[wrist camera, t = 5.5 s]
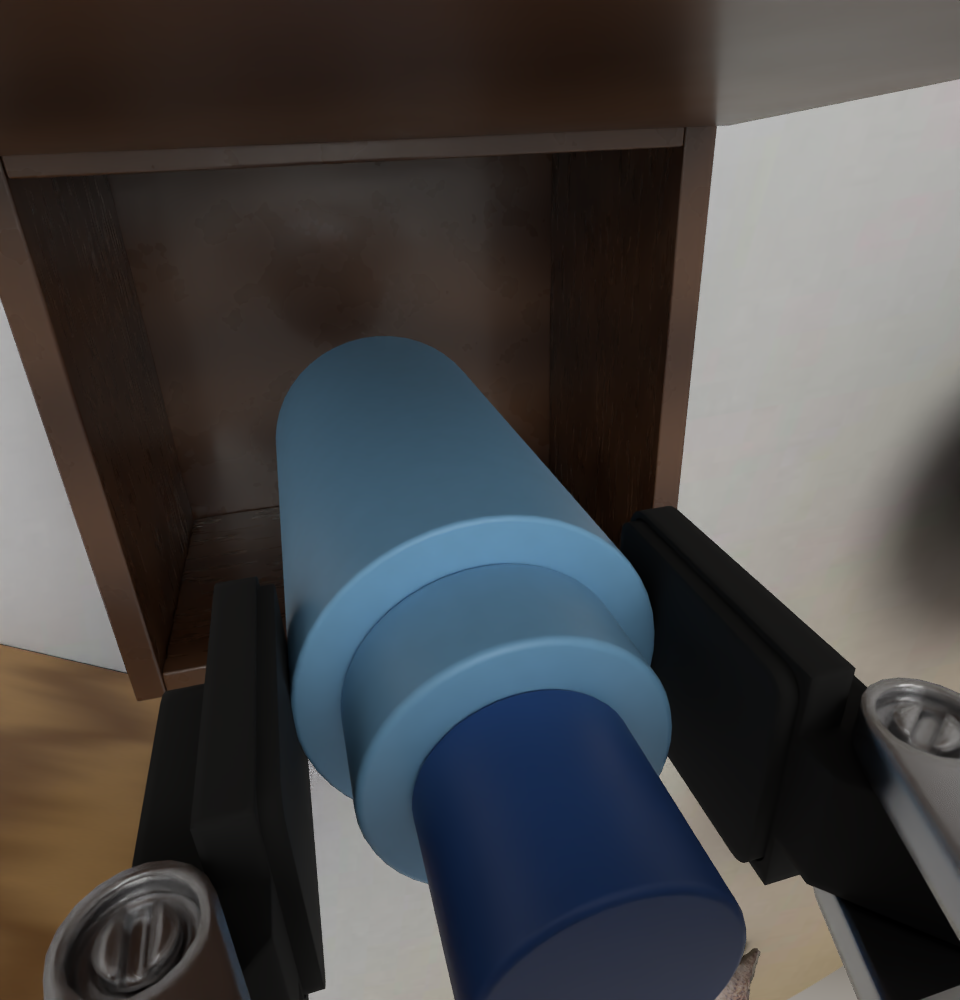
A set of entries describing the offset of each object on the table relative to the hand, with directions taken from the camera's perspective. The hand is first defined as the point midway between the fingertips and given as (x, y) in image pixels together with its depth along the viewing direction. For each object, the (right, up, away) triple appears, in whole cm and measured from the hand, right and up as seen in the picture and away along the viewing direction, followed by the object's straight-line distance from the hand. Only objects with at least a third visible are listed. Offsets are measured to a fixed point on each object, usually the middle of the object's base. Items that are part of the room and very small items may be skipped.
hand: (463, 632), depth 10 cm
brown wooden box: (-4, +8, +16) cm, 18 cm away
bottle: (-2, +3, +7) cm, 8 cm away
